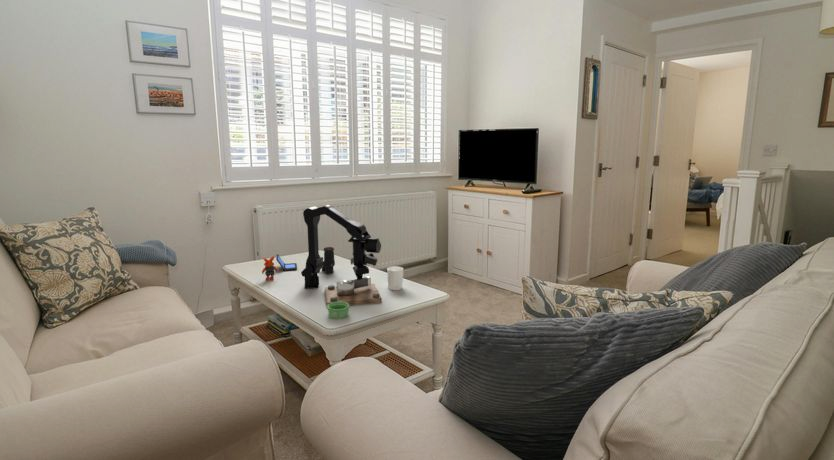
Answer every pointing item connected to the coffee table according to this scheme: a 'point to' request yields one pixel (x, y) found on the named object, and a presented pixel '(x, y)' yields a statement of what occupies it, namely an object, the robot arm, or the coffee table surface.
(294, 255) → the coffee table surface
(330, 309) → the ramekin
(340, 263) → the coffee table surface
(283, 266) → the handheld game console
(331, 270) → the scope
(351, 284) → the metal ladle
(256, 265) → the coffee table surface
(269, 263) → the toy animal
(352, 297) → the base plate
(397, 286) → the white cup
